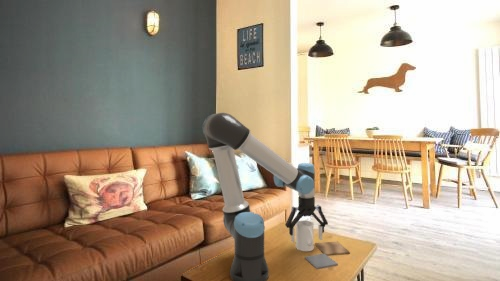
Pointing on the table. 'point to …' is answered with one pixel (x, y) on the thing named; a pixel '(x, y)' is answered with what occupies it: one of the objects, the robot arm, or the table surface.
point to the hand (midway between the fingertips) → (306, 240)
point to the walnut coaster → (332, 248)
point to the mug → (304, 235)
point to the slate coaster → (321, 261)
